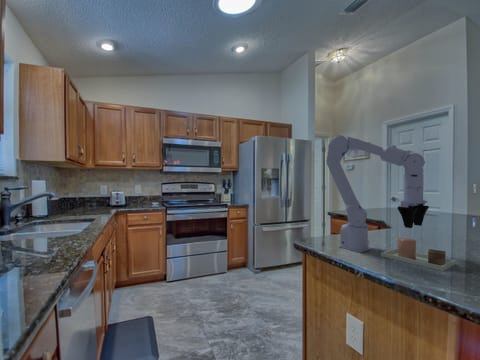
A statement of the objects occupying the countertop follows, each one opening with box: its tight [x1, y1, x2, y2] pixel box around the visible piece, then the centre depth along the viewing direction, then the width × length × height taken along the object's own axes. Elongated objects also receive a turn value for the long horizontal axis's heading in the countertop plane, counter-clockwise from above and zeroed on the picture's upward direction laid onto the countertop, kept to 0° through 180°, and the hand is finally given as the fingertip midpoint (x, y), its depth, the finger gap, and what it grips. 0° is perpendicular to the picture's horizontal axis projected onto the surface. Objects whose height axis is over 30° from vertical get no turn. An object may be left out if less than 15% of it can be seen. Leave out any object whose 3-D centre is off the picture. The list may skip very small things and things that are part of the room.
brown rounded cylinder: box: [397, 237, 417, 260], centre depth 85 cm, size 5×5×6 cm
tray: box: [380, 247, 456, 272], centre depth 83 cm, size 17×10×2 cm, turn 35°
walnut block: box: [427, 248, 446, 266], centre depth 79 cm, size 4×4×4 cm
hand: (413, 226), depth 91 cm, fingers open, 7 cm apart
